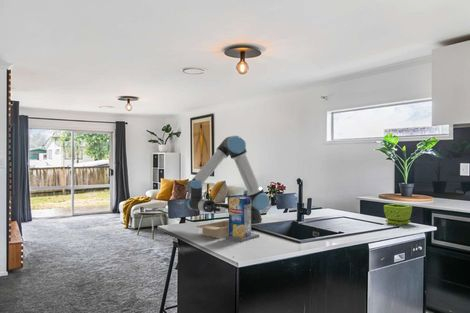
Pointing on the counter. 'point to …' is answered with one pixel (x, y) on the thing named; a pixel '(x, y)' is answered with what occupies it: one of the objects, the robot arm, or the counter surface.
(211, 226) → the wooden tray
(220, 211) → the robot arm
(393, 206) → the flower pot
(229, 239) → the mat
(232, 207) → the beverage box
